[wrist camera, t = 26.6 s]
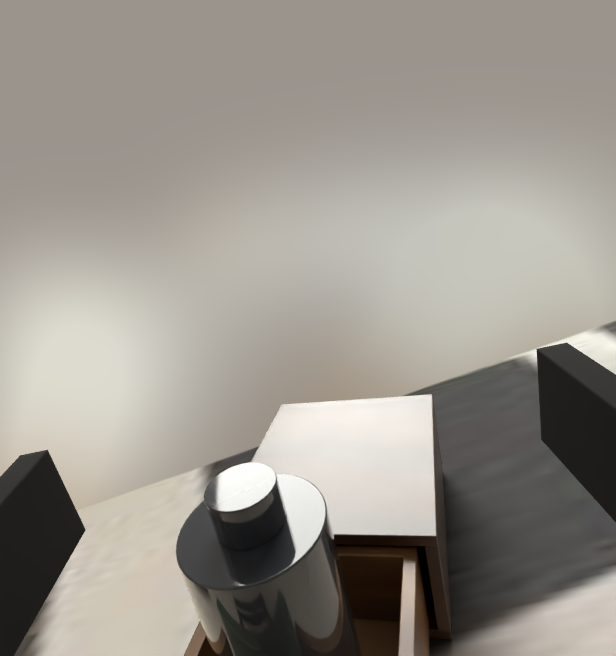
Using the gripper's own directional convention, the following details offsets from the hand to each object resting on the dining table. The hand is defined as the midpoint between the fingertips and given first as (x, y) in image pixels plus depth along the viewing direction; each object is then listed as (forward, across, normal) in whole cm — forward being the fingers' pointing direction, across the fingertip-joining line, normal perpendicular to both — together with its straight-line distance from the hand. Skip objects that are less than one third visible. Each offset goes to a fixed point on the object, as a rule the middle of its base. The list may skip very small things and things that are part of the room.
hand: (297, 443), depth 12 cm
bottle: (+6, -4, -21) cm, 22 cm away
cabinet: (+20, 0, -23) cm, 31 cm away
